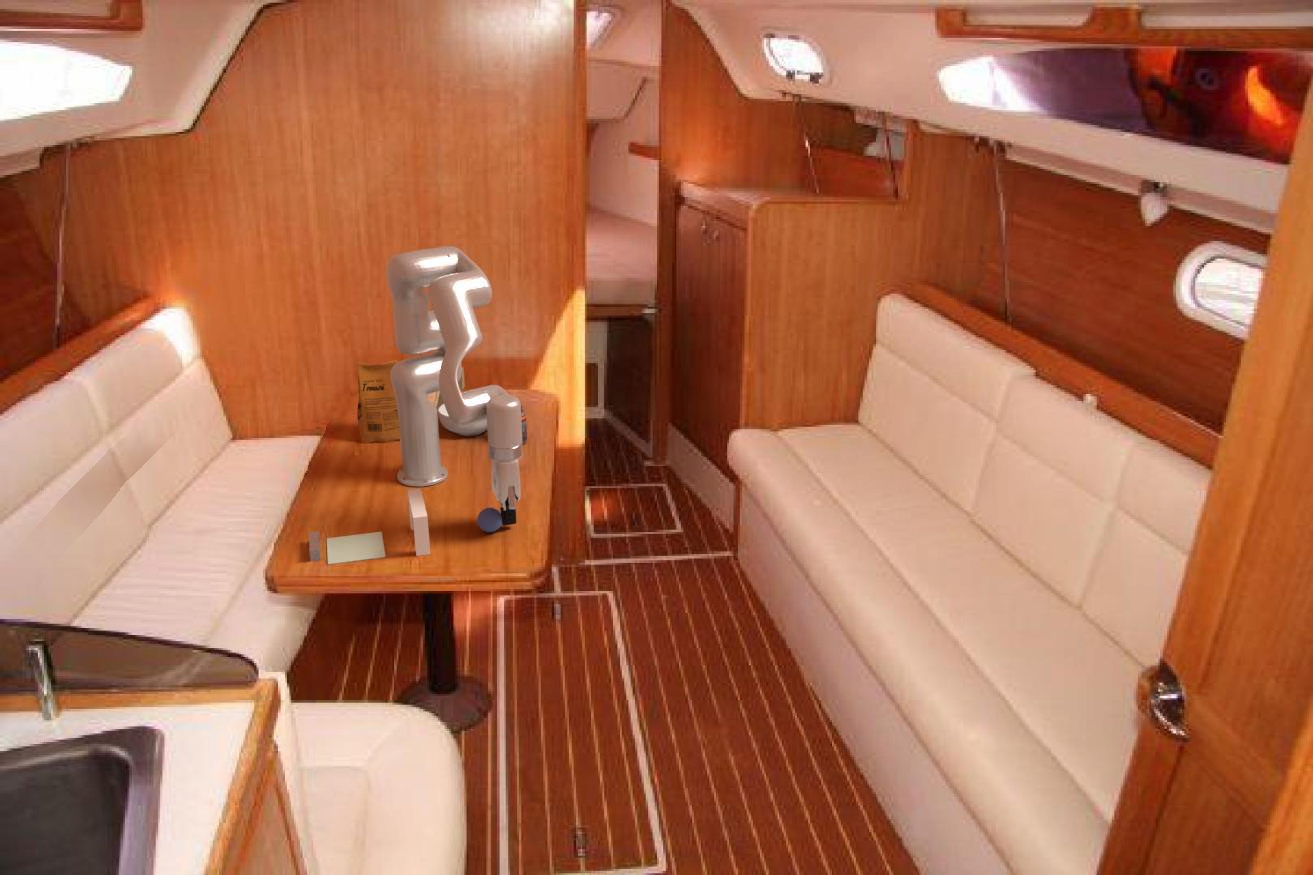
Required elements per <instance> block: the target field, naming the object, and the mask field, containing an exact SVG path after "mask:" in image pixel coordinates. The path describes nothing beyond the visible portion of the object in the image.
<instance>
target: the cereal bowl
mask: <svg viewBox="0 0 1313 875" xmlns="http://www.w3.org/2000/svg"><path fill="white" fill-rule="evenodd" d="M438 420H439V421H440V424H441V425H442V426H443V428H445V429H446V430H448V431H450V432H451V433H456V434H458V435H460V436H464V437H466V436H467V437H470V436H477V435H478V436H479V435H481V434H483V433H485V432H487V431H488V430H487V421H483V422H480V423H476V424H473V425H469V426H463V427H462V426H458V425H456V424H454V423H453V422H452V420H451V419H450V417H449V415H448V413H447V411H446V408H445V405H444V404H443V405H441V406H440V407H439V409H438Z"/></svg>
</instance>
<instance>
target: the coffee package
mask: <svg viewBox="0 0 1313 875" xmlns="http://www.w3.org/2000/svg"><path fill="white" fill-rule="evenodd" d="M398 362H399V361H398V360H397V359H393V360H389V361H386V362H381V363H370V362H369V363H368V362H359V361H358V362H357V380H358V382H357V384H358V402H357V410H356V413H357V414H356V415H357V416H356V418H357V423H358V424H357V425H358V429H359V434H360V435H359V436H360V440H361V441H362V442H363V443H364V444H367V443H368V444H370V443H374V442H381V443H390V442H396V441H400V431H399V420H398V410H397V403H396V398H395V394H394V390H393V386H392V383H391V377H390V373H391V369H392V368H393V366H394V365H395V364H396V363H398Z"/></svg>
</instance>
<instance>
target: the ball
mask: <svg viewBox="0 0 1313 875" xmlns="http://www.w3.org/2000/svg"><path fill="white" fill-rule="evenodd" d="M476 521H477V524H478V527H479V528H480V530H482V531H483V532H486V533H493V532H496V531H497V530H499V529H500V528H501V527H502V525H503V524H502V516H501V511H499V510H498V509H496V508H494V507H486V508H484V509H482V510H481V511H480V512H479V513H478V516H477V520H476Z"/></svg>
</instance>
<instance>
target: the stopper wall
mask: <svg viewBox="0 0 1313 875" xmlns="http://www.w3.org/2000/svg"><path fill="white" fill-rule="evenodd" d="M319 532H320V531H319V530H317V531H310V532H308V539H309V540H308V541H309V543H308V545H309V558H310V562H317V561H321V540H320V533H319Z"/></svg>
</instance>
